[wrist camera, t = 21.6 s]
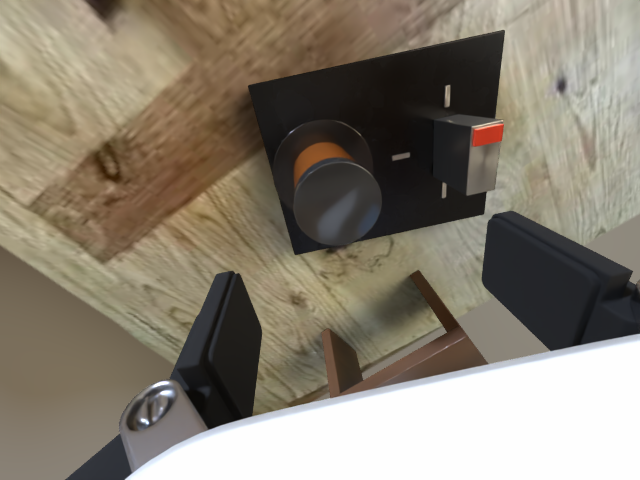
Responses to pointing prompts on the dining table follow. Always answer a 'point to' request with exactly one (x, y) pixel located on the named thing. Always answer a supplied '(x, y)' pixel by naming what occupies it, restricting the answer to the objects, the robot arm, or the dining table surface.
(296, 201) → the spice bottle
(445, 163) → the hob knob
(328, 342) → the shelf
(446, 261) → the dining table surface
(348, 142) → the disc
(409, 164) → the hob
